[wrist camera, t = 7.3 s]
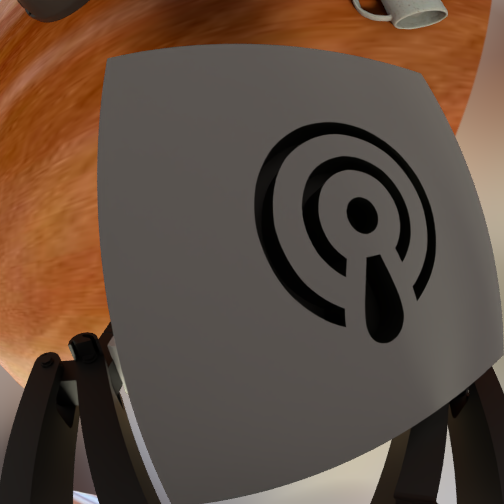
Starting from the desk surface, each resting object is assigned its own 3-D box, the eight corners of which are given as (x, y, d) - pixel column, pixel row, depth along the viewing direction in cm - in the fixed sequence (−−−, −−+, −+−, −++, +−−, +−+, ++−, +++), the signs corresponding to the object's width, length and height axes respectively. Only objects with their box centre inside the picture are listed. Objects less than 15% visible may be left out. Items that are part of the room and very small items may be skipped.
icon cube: (356, 339, 16) (503, 354, 6) (183, 385, 13) (173, 506, 4) (318, 178, 17) (420, 73, 7) (150, 198, 15) (107, 58, 5)
